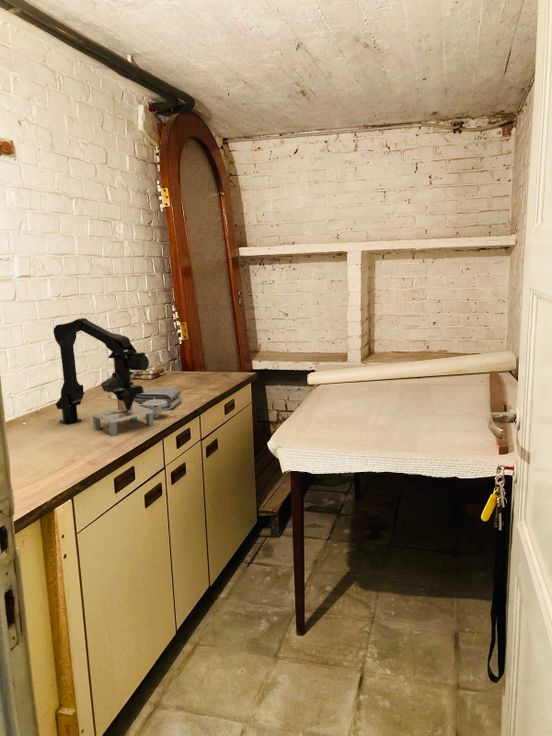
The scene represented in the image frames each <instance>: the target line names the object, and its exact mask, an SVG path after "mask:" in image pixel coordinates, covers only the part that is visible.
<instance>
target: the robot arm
mask: <svg viewBox="0 0 552 736" xmlns="http://www.w3.org/2000/svg"><path fill="white" fill-rule="evenodd" d="M80 331H81V332H83V333H84V334H86V335H89V336H90V337H93V338H94V339H96V340H98V341H100V342H102V343H103V344H104V346H106V348H107V349H108V350H109V351H111V353H110V355H108V359H113V367H114V368H113V369H114V371H113V372H114V373H113V374H112V377H111V378H110V377H109V379H107V378H106V380H104V381H102V382H101V383H100V385H101V388H102V390H103V391H104V392H106V393H111V392H112V393H113V394H115V395H116V397H117V399H122V398H125V403H126V408H127V410H130V408H131V406H132V404H134V399H135V397H136V395H137V394H141V393H143V391H144V386H142V385H139V384H134V381H132V380H131V379H132V377H131V375H133V371H142V372H143V371H147V370H148V368H149V365H150V360H149V358H148V357H147V356H146V353H145V352H142V351H141V352H138V351H137V350H136V348H135V347H134V345H133V344H132V343H131V340H130V338H129V337H128V336H125V335H122V334H119V333H113V332H110V331H108V330H106V329H105V328H103V327H101V326H99V325H98V324H95V323H93V322H92V321H90V320H88V319H87V318H85V317H81V318H77V319H74V320H73V321H71V322H66V323H61V324H56V325H55V327H53V336H54V340H55V342H56V343H57V345H58V346H59V350H60V358H61V366H62V376H63V377H62V378H63V383H62V385H61V386H62V387H61V389H60V398H59V399H58V400H57V402H56V403H55V406H56V408H57V410H61V413H62V414H61V415H62V419H60V420H59V422H60V423H63V424H65V425H70V424H74V423H77V422H78V423H79V422H82V421H81V420H82V419H81V418H79V415H78V408H77V406H79V405H81V404H82V403H81V402H82V400H83V399H84V395H85V392H84V385H83V384H80V382H79V381H78V377H77V369H76V360H75V358H76V357H75V349H74V346H75V342H76V340H77V334H78V333H79V332H80ZM117 399H116V400H117ZM73 422H74V423H73ZM69 423H70V424H69Z"/></svg>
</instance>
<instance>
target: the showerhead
mask: <svg viewBox="0 0 552 736" xmlns="http://www.w3.org/2000/svg"><path fill="white" fill-rule="evenodd" d="M166 405H167V401H166V400H163V399H162V400H161V399H155V398H154V400H148V401H145V402H144V403H143V407H145V408H149V409H151V410H153V417H155V418H154V419H157V417H158V418H159V416H160V415H159V414H161V413H162V411H163V410H161V407H164V406H166Z"/></svg>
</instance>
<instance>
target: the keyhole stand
mask: <svg viewBox="0 0 552 736" xmlns="http://www.w3.org/2000/svg"><path fill="white" fill-rule="evenodd" d="M132 406H133V409H131V410H128V412H123V411H121V410H118V407H115V408H110V409H107V410H102V411H99V412H94V413H92V422H93V423H92V425H93V429H94V428H95V429H94V430H96V429H97V430H100V429H99V428H101V429H102V423H101V420H102V421H105V422H108V428H109V429H108V430H109V431H108V432H109V435H110V436H111V435H112V437H113V435H114V436H117V435H118V424H117V423H118V422H120V421H125V419H126V420H130V419H131V420H130V421H136V420H135V419H137V420H138V417H140V416H144V415H145V420H146V426H148V425H151V426H154V425H155V422H154V421H155V420H154V419H155V418H153V410H151V409H148V408H144V407H141V406H138V405H136V404H134V403H132ZM112 415H113V416H112ZM129 418H130V419H129ZM153 424H154V425H153Z"/></svg>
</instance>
